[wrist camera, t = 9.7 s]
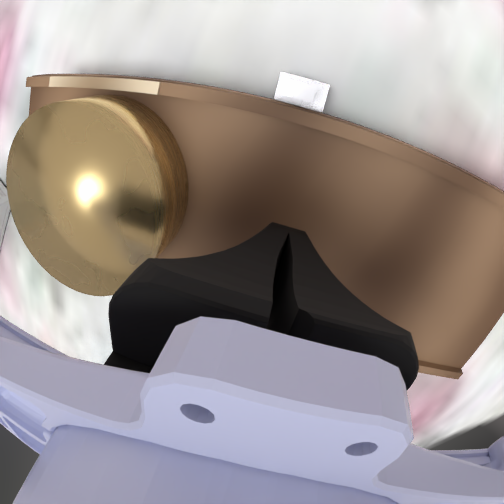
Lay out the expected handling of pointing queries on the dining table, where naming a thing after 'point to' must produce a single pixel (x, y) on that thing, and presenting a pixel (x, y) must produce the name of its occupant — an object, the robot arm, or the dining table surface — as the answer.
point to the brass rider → (96, 189)
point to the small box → (3, 210)
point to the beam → (331, 204)
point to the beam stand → (301, 91)
